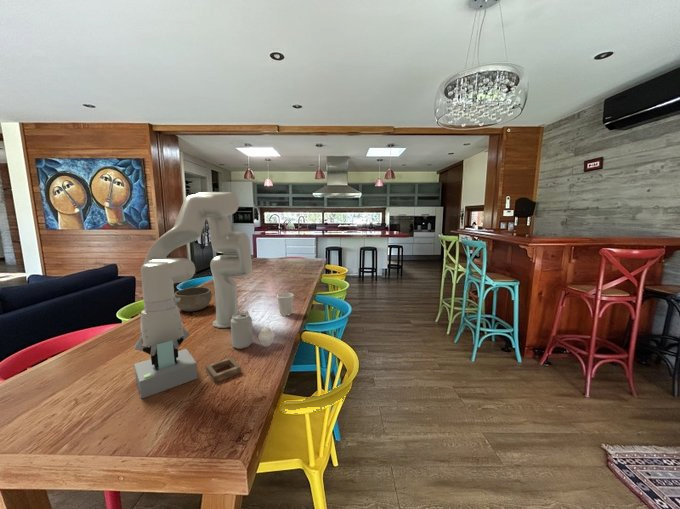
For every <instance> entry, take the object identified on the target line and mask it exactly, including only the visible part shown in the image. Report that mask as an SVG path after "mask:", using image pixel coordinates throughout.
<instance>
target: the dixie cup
mask: <svg viewBox="0 0 680 509" xmlns="http://www.w3.org/2000/svg"><path fill="white" fill-rule="evenodd" d="M276 297H277V304H278V305H277V306H278V310H279V311H278V312H279V315H280V314H281V315H288V314H291V315H292V312H293V310H292V309H293V302H294V294H293V293H292V292H282V293H278V294H277V295H276ZM281 315H280V316H281Z"/></svg>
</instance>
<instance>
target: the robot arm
mask: <svg viewBox="0 0 680 509" xmlns="http://www.w3.org/2000/svg"><path fill="white" fill-rule="evenodd" d="M239 205H240V202H239V197H238V196H237V195H236V194H235V193H233V192H231V191H202V192H197V193H195V194H194V193H193V194H190V195H187V196H186V197H185V198H184V200H183V202H182V205H181V207H180V208H179V209H180V210H179V212H178V215H177V218H176V220H175V223H174V225H173V227H172V228H171V229H169V230H168V231H166V232H165V233H163V234H162V235H161V236H160V237H159V238H157V239H156V240H155V241H154V242H153V243H152V245H150V247H149V249H148V251H147V253H146V256H145V259H144V261H143V264H142V265H141V267H140V278H141V287H142V297H143V306H144V308H143V310H142V311H141V312H140V320H139V321H140V336H139V338H138V340H137V342H136V344H134V347H133V348H134V350H135V351H139V352H143V353H146V354H148V355H149V356H150V359H151V362H152V365H155V367H156V368H158V356H157V353H156V344H160V343H164V342H167V341H171V340H173V350H174V361H175V362H177V359H176V358H177V357H178V351H179V348H180V346H181V345H182V343H183V342H184V341H185V340H186V339H187V338H188V337H190V333H189V331H188V330H186V329H185V328H184V326H183V322H182V317H181V316H182V315H181V312H180V310H179V309H180V308H178V306H177V305H176V303H177V302H180V301H181V300H180V297H178V298H177V297H175V296H174V294H175V288H174V286H175V285H174V284H177V283H183V282H187V281H189V280H191V279H192V278H193V277H194V276H195V274H196V266H195V263H194V262H193V261H192V260H190V259H189V258H183V257H168V255H169V254H170V253H172V252H173V251H175V250H176V249H178V248H180V247H183V246H185V245H189V244H191V243H193V242H196V241H197V240H198V239H200V237H201V236H202V232H203V230H204V226H205V224H206V223H205V222H206V221H207V224H208V228H209V236H210V237H209V238H210V242H211V248H212V250H213V251H214V252H215V253H217V254H218V253H220V254H221V255H216V256H214V257H213V258H212V259H211V260H210V264H209V266H210V271H211V274H212V279H213V287H214V290H213V291H214V300H215V302H214V304H215V320H213V321H212V326H214V328H219V329H226V328H231V319H232V316H233V315H235V314H238V313H248V314H249V315H250V312H249V310H246V311H244V310H240V311H239V303H238V302H239V300H238V299H239V298H238V285H237V282H236V280H235V279H234V278H233V277H248V276H250V274H251V273H252V271H253V262H252V251H251V241H250V238H249V235H248V234H247V233H246V232H243V231H232V228H231V221H230V218H229V217H228V216H231V215H233V214H235V213H236V212H237V211H238V209H239ZM223 254H227V255H223ZM231 254H233V255H231ZM234 254H237V255H234Z"/></svg>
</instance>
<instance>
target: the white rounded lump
mask: <svg viewBox="0 0 680 509" xmlns="http://www.w3.org/2000/svg"><path fill="white" fill-rule="evenodd" d="M257 338H258V341H259V343H260V344H261V346H262V347H270V346H271V345H272V344H273V341H274V340H275V333H274V332H273V331H272V329H271V328H270V327H263V328H262V329H261V331H260V332H259V334H258V336H257Z"/></svg>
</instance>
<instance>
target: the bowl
mask: <svg viewBox="0 0 680 509" xmlns="http://www.w3.org/2000/svg"><path fill="white" fill-rule="evenodd" d="M212 295H213V294H212V290H211V288H209V287H206V286H196V287H195V286H192V287H187V288H183V289H179V290H177V291H174V296H175V297H177V298H178V297H180V300H181V301H180V302H177V303H176V305H177V306H178V308H179V309H180V310H181V311H183V312H188V313H189V312H196V311H200V310H203V309H206V307H208V306H209V304H210V303H211V302H212Z"/></svg>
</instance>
